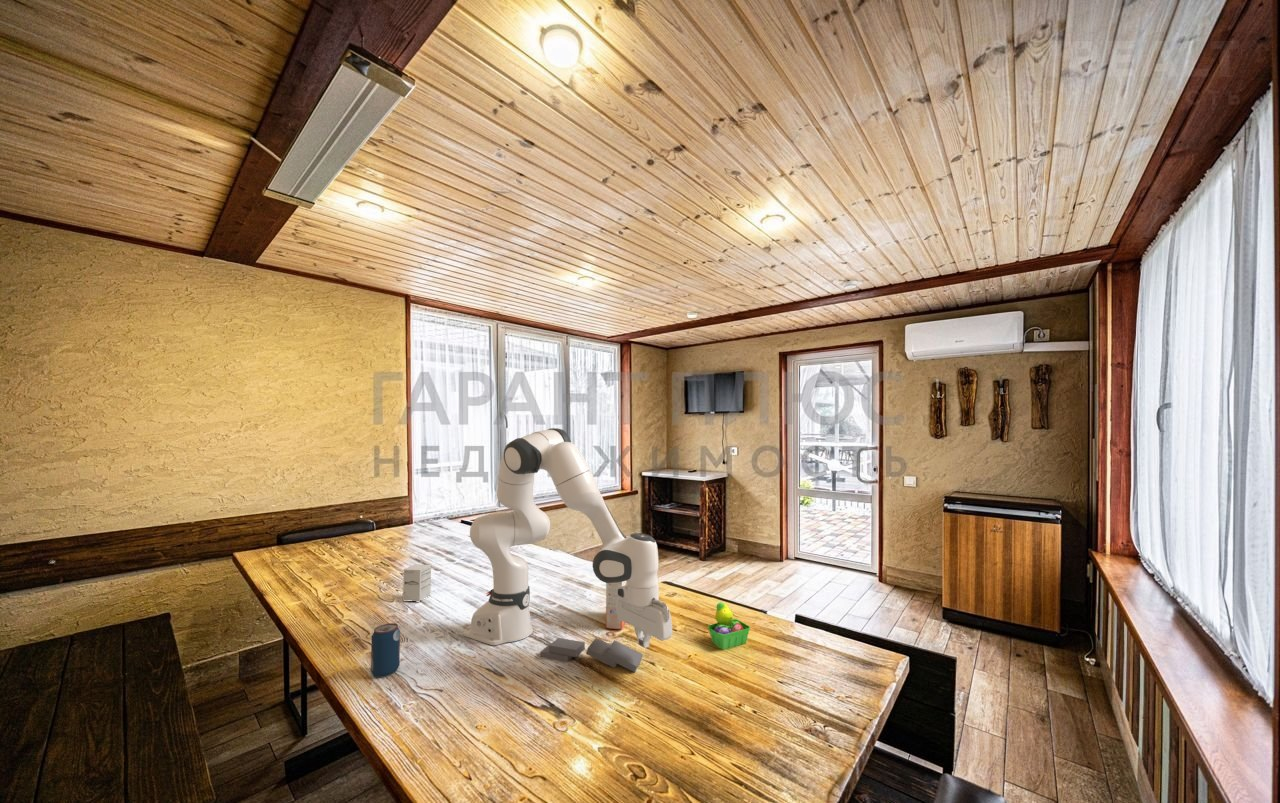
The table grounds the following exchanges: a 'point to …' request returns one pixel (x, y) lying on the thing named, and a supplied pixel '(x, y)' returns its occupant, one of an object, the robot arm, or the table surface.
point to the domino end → (624, 656)
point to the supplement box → (417, 582)
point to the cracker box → (613, 606)
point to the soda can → (385, 650)
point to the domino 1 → (554, 655)
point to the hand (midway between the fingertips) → (643, 645)
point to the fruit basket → (727, 629)
